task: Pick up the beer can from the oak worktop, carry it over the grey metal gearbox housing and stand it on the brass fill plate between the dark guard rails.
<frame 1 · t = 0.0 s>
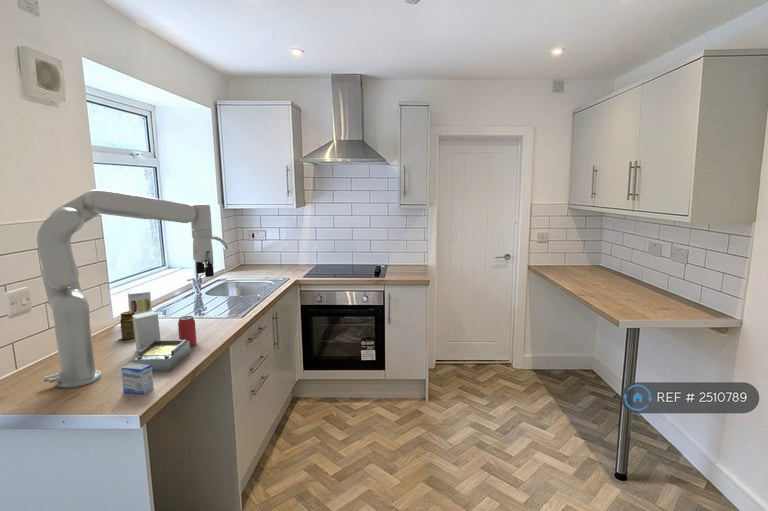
hand: (205, 274, 166), 31 cm above the countertop, fingers open, 9 cm apart
medicine box: (138, 391, 133), on the countertop
gearbox housing: (164, 362, 155), on the countertop
supplement box: (141, 323, 202), on the countertop
skincare box: (148, 350, 167), on the countertop
condiment: (128, 339, 180), on the countertop
beer can: (188, 344, 173), on the countertop
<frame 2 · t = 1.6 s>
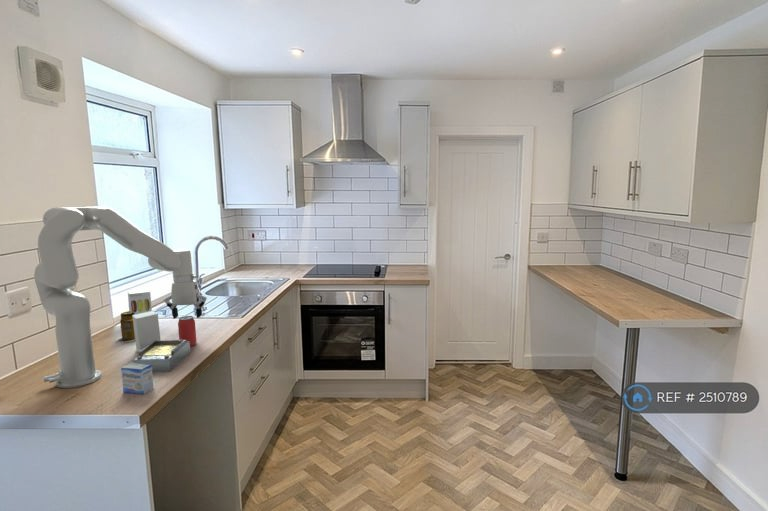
hand: (187, 317, 172), 12 cm above the countertop, fingers open, 9 cm apart
nothing on the countertop moved.
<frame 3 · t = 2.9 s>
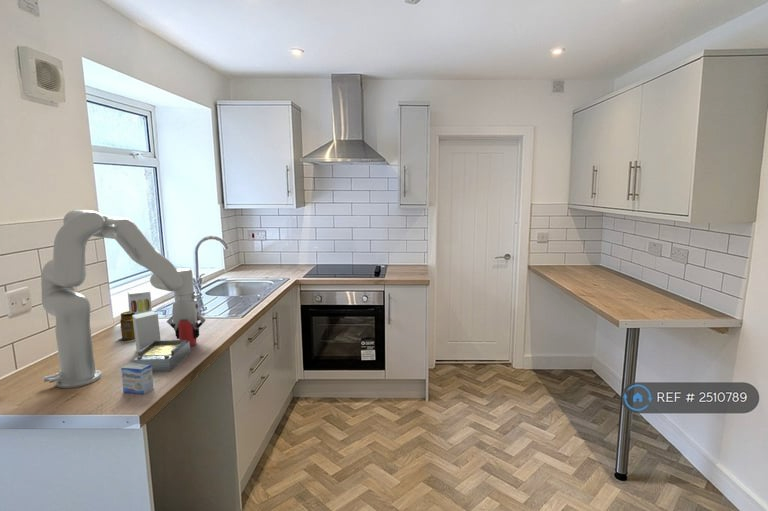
hand: (187, 337, 173), 3 cm above the countertop, fingers closed on beer can, 6 cm apart
beer can: (188, 344, 174), on the countertop, touching gripper
everything else where it was.
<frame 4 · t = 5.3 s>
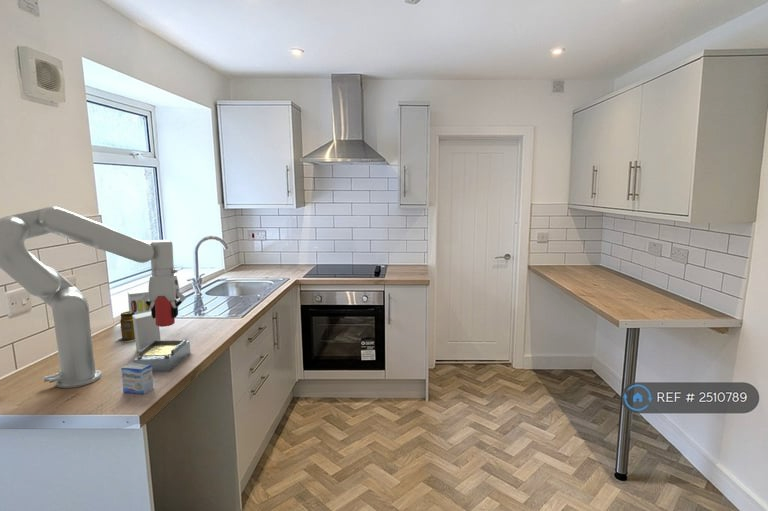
hand: (165, 316, 157), 17 cm above the countertop, fingers closed on beer can, 6 cm apart
beer can: (165, 325, 157), point 14 cm above the countertop, touching gripper
everything else where it was.
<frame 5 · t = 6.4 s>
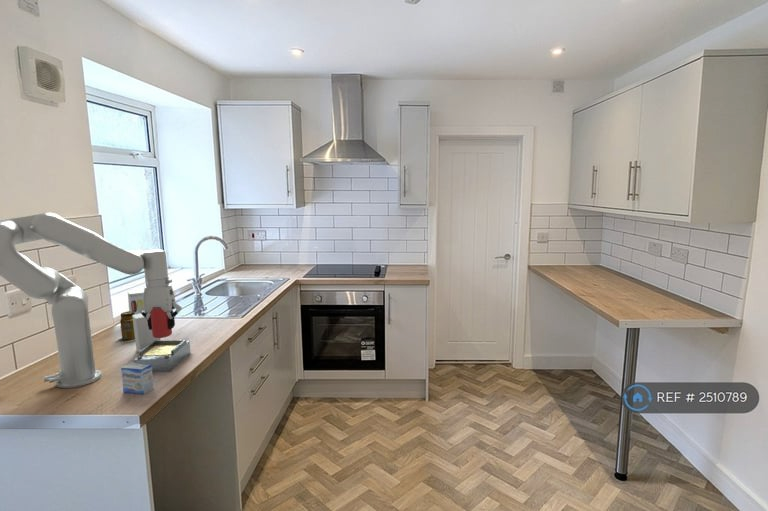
hand: (161, 328, 153), 14 cm above the countertop, fingers closed on beer can, 6 cm apart
beer can: (162, 336, 154), point 10 cm above the countertop, touching gripper
everything else where it was.
when the fingers open (10 cm above the countertop, at t = 7.6 s): beer can drops 1 cm, resting on gearbox housing.
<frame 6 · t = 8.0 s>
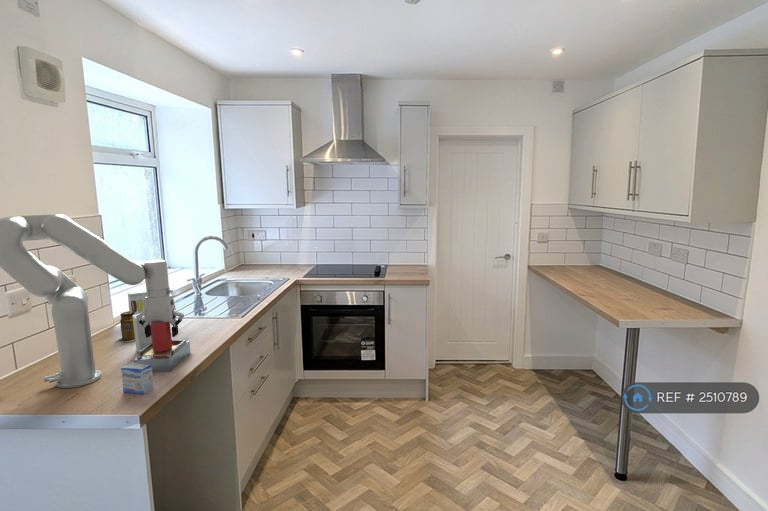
hand: (162, 336, 154), 11 cm above the countertop, fingers open, 9 cm apart
beer can: (162, 349, 154), point 5 cm above the countertop, touching gearbox housing
everything else where it was.
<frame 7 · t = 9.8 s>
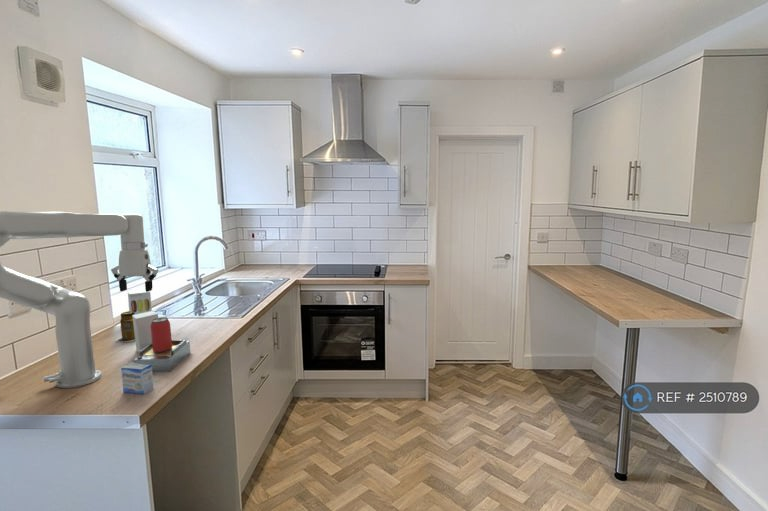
hand: (136, 290, 153), 28 cm above the countertop, fingers open, 9 cm apart
nothing on the countertop moved.
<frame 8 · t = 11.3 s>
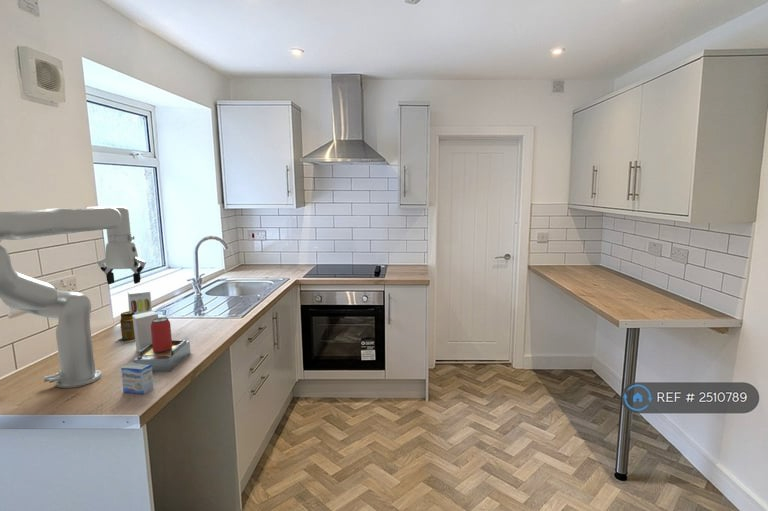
hand: (124, 283, 155), 30 cm above the countertop, fingers open, 9 cm apart
nothing on the countertop moved.
at the end: beer can 0.2 cm from the gearbox housing (horizontally); beer can point 5.0 cm above the countertop; beer can tilted 0° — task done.
